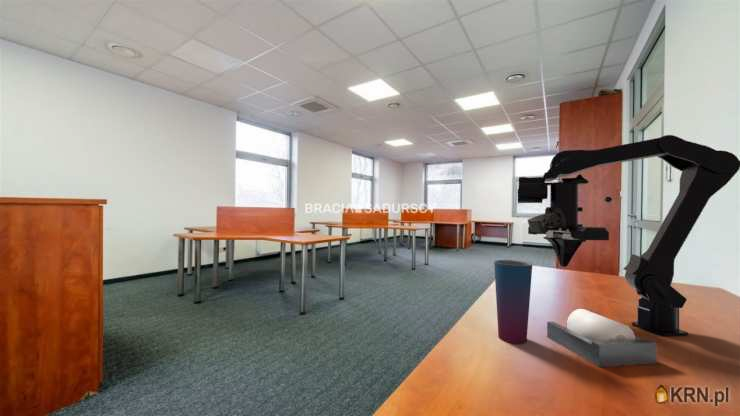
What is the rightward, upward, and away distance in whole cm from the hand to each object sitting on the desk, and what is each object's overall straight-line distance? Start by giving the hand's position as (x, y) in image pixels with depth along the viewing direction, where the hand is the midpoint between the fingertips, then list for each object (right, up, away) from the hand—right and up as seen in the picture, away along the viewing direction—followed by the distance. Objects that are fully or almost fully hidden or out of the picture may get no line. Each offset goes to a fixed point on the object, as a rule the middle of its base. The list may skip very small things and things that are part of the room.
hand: (563, 266), depth 71 cm
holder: (-6, -12, -17) cm, 22 cm away
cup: (-20, -12, -14) cm, 27 cm away
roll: (-6, -12, -17) cm, 22 cm away
